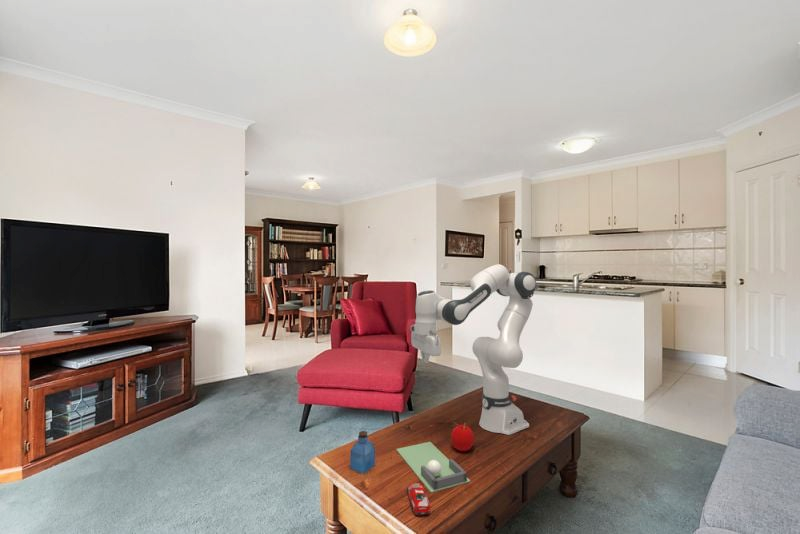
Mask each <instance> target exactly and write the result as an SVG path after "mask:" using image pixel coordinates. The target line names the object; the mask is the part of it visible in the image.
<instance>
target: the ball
mask: <svg viewBox="0 0 800 534" xmlns="http://www.w3.org/2000/svg"><path fill="white" fill-rule="evenodd" d="M427 470H428V471H429V472H430V473H431V474H432V475H433V476H434V477H437V476H438V475H439V474H440V473H441V465H440V463H439V462H438V461H436V460H431V461H429V463H428V464H427Z"/></svg>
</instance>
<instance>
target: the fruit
mask: <svg viewBox="0 0 800 534" xmlns="http://www.w3.org/2000/svg"><path fill="white" fill-rule="evenodd" d="M450 440H451V443H452V446H453V448H454V449H456V450H457V451H459V452H466V451H469V450H470V449H471V448H472V447H473V445H474V443H475V435H474V432H473V430H472V429H471V428H470V427H469V426H468V425H466V423H464V424H459V425H457V426H455V427H454V428H453V430H452V431H451V434H450Z"/></svg>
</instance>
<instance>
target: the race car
mask: <svg viewBox="0 0 800 534" xmlns="http://www.w3.org/2000/svg"><path fill="white" fill-rule="evenodd" d="M424 486H425V485H424V484H423V483H419V482H411V483H410V484H408V486H407V487H406V488H407V495H408V499H409V502H410V505H411V510H412V512H413V515H415V516H426V515H427V516H428V515H430V513H431V505H430V500H429V499H428V495H427V492H426V490H427V487H425V488H424Z"/></svg>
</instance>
